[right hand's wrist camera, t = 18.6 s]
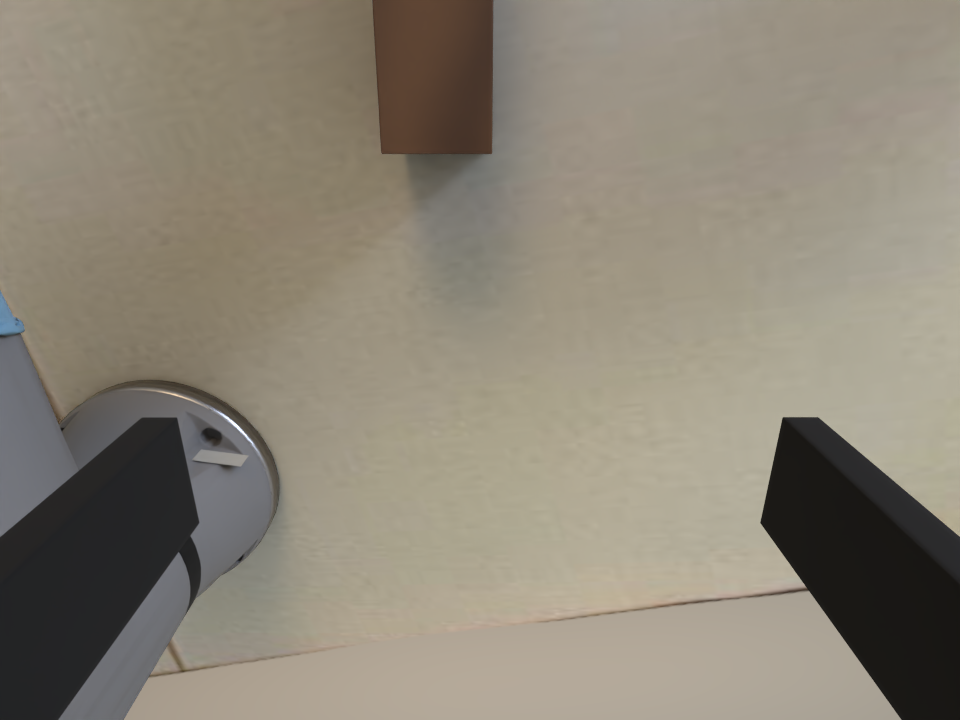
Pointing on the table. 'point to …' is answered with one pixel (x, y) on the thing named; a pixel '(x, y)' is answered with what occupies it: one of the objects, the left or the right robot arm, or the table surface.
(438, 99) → the walnut beam
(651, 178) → the table surface
